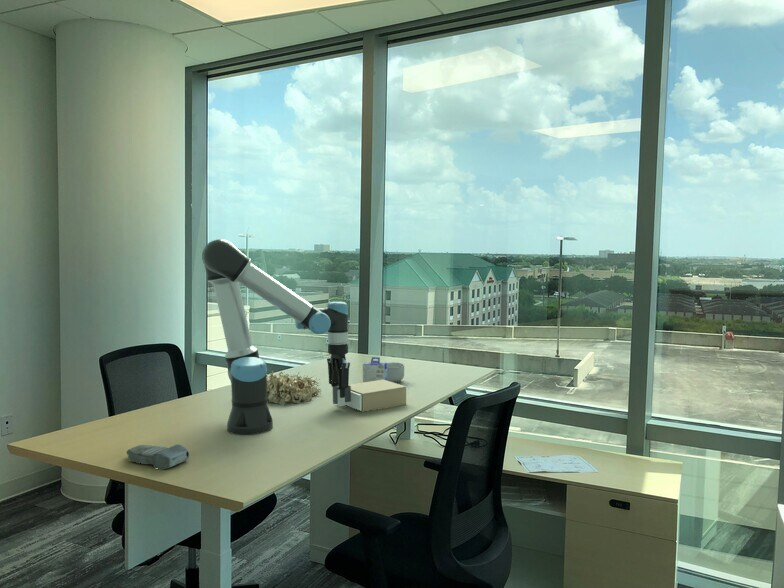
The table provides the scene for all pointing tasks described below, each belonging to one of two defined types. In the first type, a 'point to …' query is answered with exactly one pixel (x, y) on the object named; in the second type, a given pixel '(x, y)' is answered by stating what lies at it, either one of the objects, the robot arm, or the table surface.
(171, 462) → the handheld device
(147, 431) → the table surface
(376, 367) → the ink cartridge box
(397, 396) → the sleeve
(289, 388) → the dried lichen
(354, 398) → the tray
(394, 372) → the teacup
